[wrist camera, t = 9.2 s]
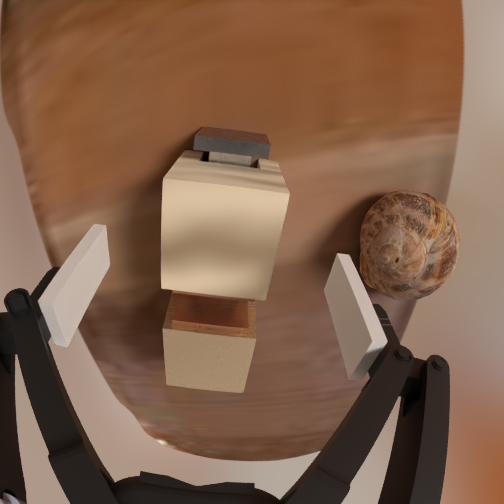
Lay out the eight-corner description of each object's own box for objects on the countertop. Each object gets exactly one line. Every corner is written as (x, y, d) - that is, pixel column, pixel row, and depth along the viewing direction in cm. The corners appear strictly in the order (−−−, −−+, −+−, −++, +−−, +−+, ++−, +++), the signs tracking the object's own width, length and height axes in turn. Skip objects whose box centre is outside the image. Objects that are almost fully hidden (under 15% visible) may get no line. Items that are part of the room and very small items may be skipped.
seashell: (318, 263, 29) (389, 276, 19) (353, 180, 29) (426, 164, 20) (389, 304, 32) (459, 323, 22) (417, 230, 32) (487, 231, 23)
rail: (187, 125, 23) (164, 144, 16) (281, 137, 23) (296, 160, 17) (177, 336, 34) (167, 390, 28) (241, 343, 35) (241, 398, 29)
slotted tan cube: (185, 149, 24) (163, 178, 17) (276, 161, 24) (289, 194, 18) (178, 242, 28) (161, 295, 22) (259, 252, 29) (264, 306, 22)
